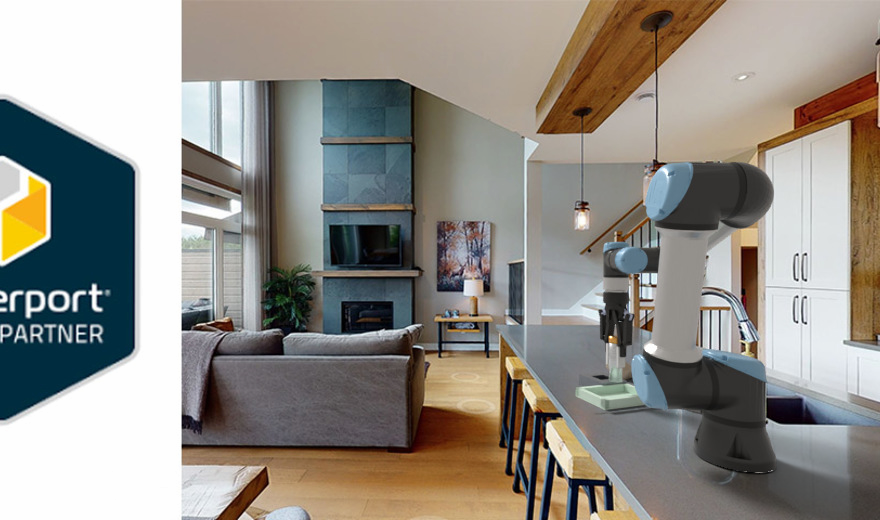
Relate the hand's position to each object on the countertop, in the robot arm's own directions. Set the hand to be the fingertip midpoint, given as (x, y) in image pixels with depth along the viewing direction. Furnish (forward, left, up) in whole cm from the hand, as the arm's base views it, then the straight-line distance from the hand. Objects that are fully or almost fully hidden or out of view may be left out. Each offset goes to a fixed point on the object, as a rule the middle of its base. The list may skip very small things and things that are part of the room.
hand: (615, 365), depth 134 cm
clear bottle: (0, 0, -5) cm, 5 cm away
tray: (0, 0, -11) cm, 11 cm away
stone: (+20, -20, -12) cm, 31 cm away
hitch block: (+12, -5, -11) cm, 17 cm away
